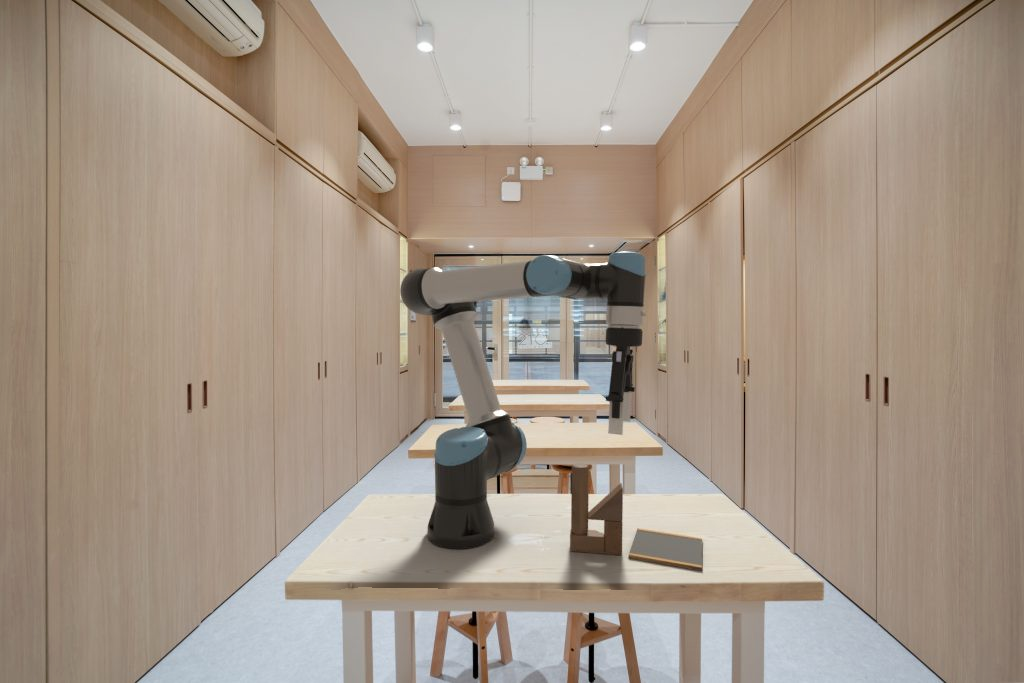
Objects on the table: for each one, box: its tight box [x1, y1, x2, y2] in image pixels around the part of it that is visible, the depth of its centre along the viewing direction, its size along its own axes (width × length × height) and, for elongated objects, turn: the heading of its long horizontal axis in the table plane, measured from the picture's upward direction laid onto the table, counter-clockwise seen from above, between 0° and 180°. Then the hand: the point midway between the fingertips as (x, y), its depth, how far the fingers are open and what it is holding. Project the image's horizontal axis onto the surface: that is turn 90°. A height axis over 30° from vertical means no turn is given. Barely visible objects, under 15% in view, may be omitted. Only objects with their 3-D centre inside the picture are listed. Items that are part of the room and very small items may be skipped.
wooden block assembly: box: [569, 463, 624, 556], centre depth 103 cm, size 4×11×18 cm, turn 82°
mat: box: [628, 528, 703, 572], centre depth 104 cm, size 14×14×1 cm
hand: (619, 427), depth 103 cm, fingers open, 13 cm apart
